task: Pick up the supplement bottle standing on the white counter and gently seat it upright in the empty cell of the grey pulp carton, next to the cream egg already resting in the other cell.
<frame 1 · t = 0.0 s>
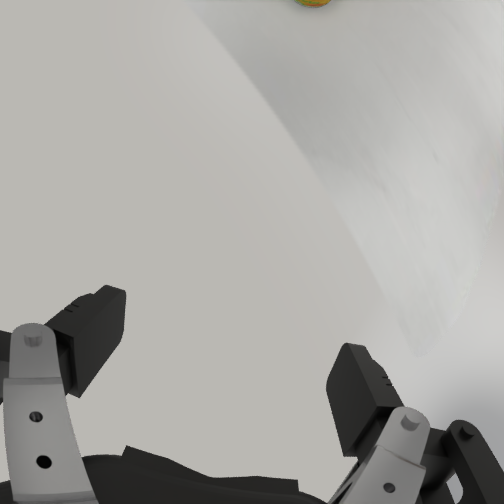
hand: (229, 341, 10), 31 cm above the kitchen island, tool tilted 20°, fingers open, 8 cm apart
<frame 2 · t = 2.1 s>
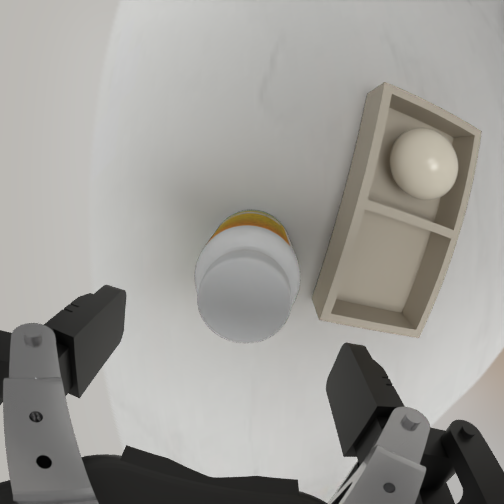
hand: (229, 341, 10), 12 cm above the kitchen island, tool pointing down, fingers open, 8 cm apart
egg: (408, 163, 19), point 1 cm above the kitchen island, touching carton
supplement bottle: (251, 246, 22), on the kitchen island
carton: (392, 212, 21), on the kitchen island
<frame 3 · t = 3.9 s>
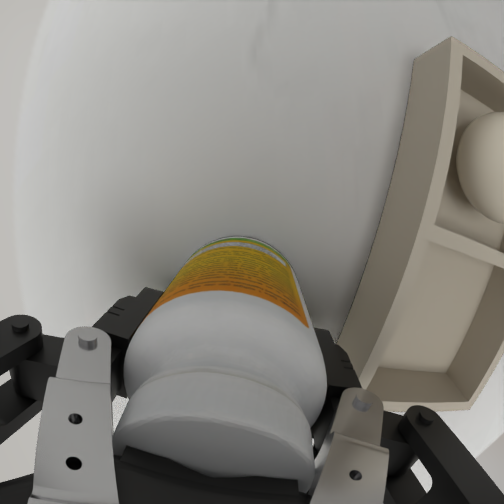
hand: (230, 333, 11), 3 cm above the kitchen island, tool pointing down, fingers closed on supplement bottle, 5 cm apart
egg: (473, 165, 11), point 1 cm above the kitchen island, touching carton
supplement bottle: (238, 291, 14), on the kitchen island, touching gripper
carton: (449, 237, 13), on the kitchen island
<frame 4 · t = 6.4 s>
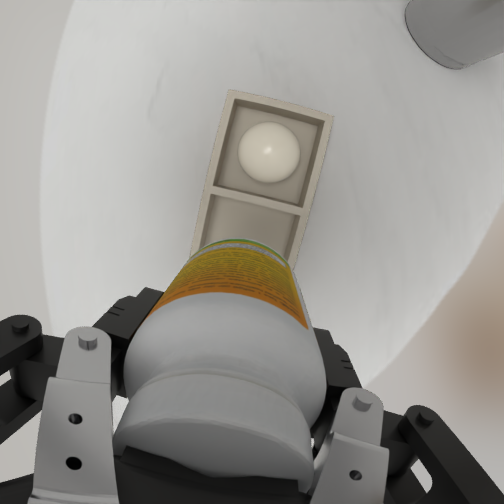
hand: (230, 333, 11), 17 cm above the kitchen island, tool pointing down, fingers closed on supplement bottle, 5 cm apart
egg: (267, 154, 25), point 1 cm above the kitchen island, touching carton
supplement bottle: (238, 292, 14), point 14 cm above the kitchen island, touching gripper
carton: (257, 196, 26), on the kitchen island
when the fingers open (5 cm above the kitchen island, at t = 9.3 s): supplement bottle drops 1 cm, resting on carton.
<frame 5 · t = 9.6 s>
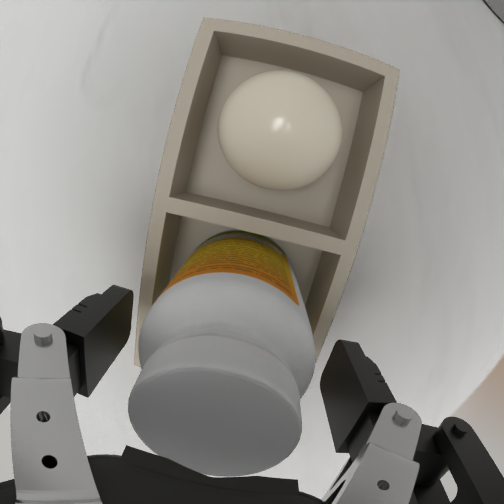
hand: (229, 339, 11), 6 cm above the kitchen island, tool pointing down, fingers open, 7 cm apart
egg: (276, 136, 13), point 1 cm above the kitchen island, touching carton
supplement bottle: (240, 280, 15), resting on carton
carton: (256, 213, 15), on the kitchen island
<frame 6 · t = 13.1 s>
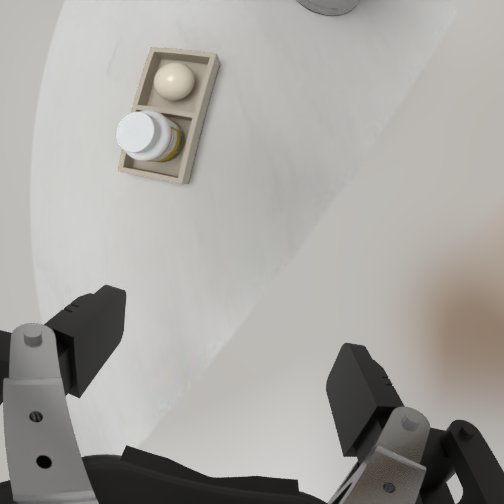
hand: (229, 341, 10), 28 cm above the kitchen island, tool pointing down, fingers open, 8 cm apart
egg: (178, 86, 33), point 1 cm above the kitchen island, touching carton
supplement bottle: (164, 141, 35), resting on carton
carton: (172, 115, 35), on the kitchen island
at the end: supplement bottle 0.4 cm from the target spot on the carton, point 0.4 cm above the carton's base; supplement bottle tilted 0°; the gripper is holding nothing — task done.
